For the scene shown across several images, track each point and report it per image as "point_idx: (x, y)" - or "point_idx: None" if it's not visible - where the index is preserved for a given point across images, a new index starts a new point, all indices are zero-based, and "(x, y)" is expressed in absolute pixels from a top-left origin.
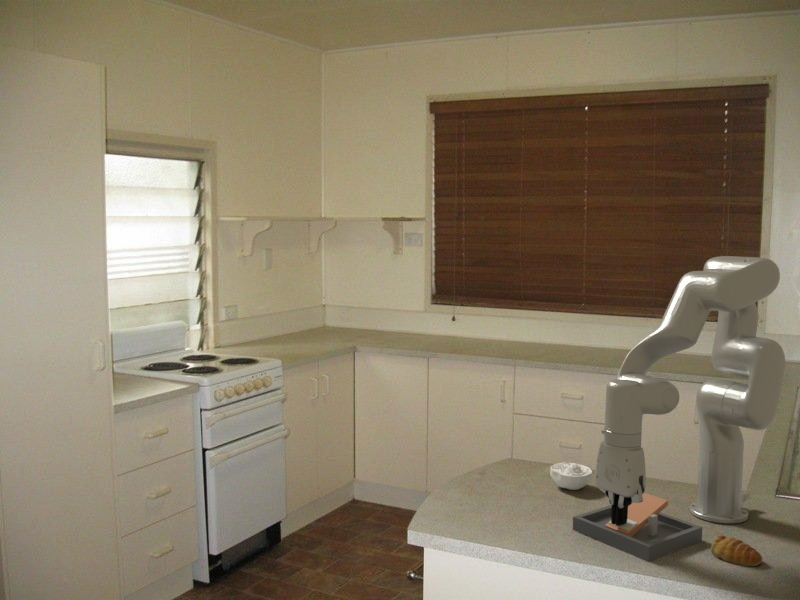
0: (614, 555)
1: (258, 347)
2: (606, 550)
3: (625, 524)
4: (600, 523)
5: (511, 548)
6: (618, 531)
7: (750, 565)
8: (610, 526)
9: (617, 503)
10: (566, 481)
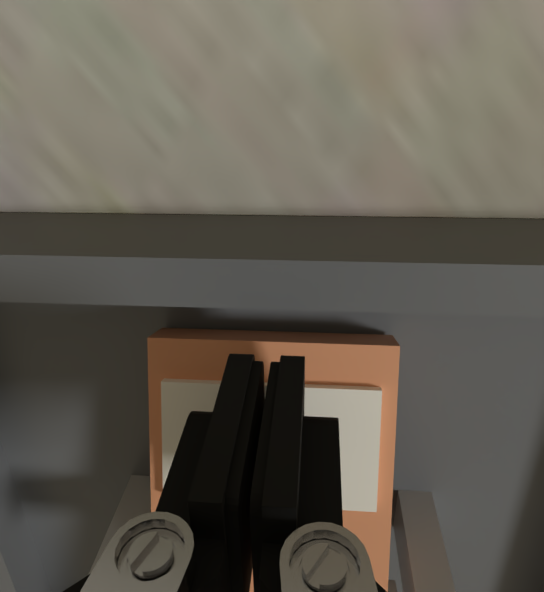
0: (108, 87)
1: None
2: (214, 113)
3: None
4: (511, 409)
5: None
6: (245, 338)
7: None
8: (342, 357)
9: (259, 582)
10: None
